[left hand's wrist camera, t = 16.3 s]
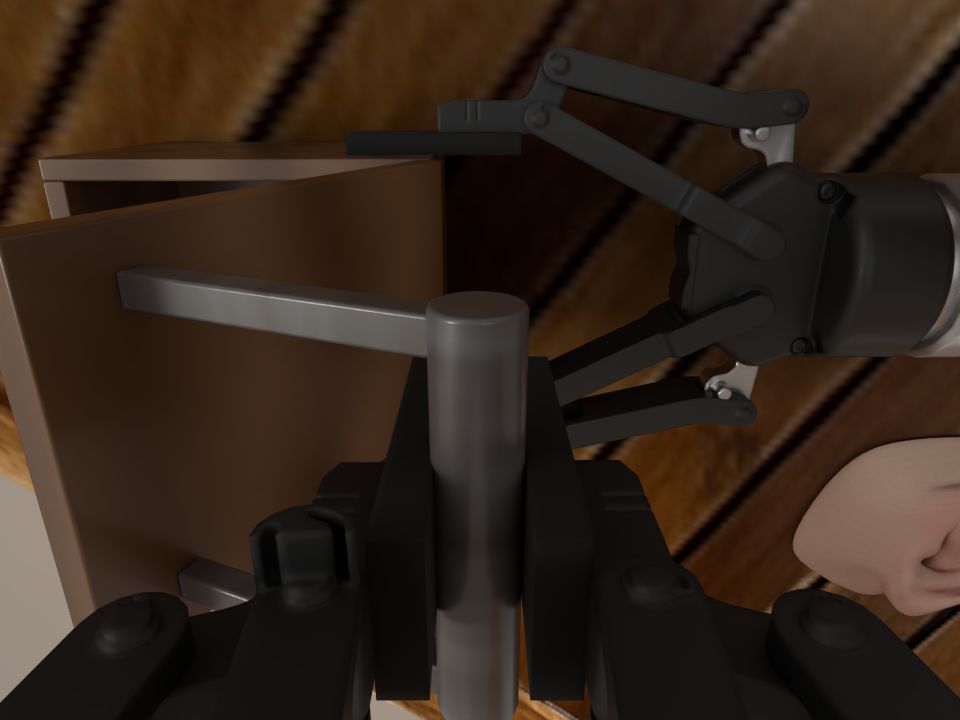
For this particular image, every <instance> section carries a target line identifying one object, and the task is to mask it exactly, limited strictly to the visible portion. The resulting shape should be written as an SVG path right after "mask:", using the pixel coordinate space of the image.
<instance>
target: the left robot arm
mask: <svg viewBox="0 0 960 720" xmlns="http://www.w3.org/2000/svg"><path fill="white" fill-rule="evenodd" d="M248 538H249V545H250V551H251V558H252V564H253V571H254V578H255V584H256V592H255V595H254V598H252V599H250V600H248V601H246V602H244V603H241V604H238V605H235V606H232V607H228V608H225V609H221V610H216V611H212V612H207V613H203V614H199V615H194V616H190V617H189V612H188V607H187V606H186V604H185V603H184V602H183V601H182V600H181V599H180V598H179V597H178V596H174V595H171V594H168V593H165V592H141V593H137V594H133V595H130V596H126V597H122V598H119V599H117V600H115V601H113V602H111V603H108V604H106V605H104V606H102V607H100V608H98V609H97V610H95V611H94V612H93V613H92V614H90V615H89V616H88V617H87V618H85V619H84V620H83V621H81V622H80V623H79V624H78V625H77V626H76V627H75V628H74V629H73V630H72V631H71V632H70V633H69V634H68V635H67V636H66V637H65V638H64V639H63V640H62V641H61V642H60V643H59V644H58V645H57V646H56V647H55V648H54V649H53V650H52V651H51V652H50V653H49V654H48V655H47V656H46V657H45V658H44V659H43V660H42V661H41V662H40V663H39V664H38V665H37V666H36V667H35V668H34V669H33V670H32V671H31V672H30V673H29V674H28V675H27V676H26V677H25V678H24V679H23V680H22V681H21V682H20V683H19V684H18V685H17V686H16V687H15V688H14V689H13V690H12V691H11V692H10V693H9V694H8V695H7V696H6V697H5V698H4V699H3V700H2V701H1V702H0V720H371V715H370V701H371V696H372V690H373V685H374V679H375V689H376V700H430V689H431V677H432V665H433V654H434V642H435V630H436V618H437V580H436V546H435V512H434V479H433V466H432V464H431V461H430V438H429V406H428V374H427V358H422V357H413V358H412V362H411V365H410V369H409V373H408V377H407V381H406V384H405V388H404V392H403V396H402V400H401V403H400V407H399V411H398V415H397V419H396V422H395V426H394V430H393V434H392V438H391V441H390V445H389V449H388V453H387V457H386V460H385V462H340V463H339V464H338V465H337V466H336V467H335V468H333V469H332V470H331V471H330V472H329V473H327V474H326V475H325V476H324V477H323V479H322V481H321V483H320V486H319V488H318V491H317V493H316V498H314V500H313V502H312V504H309V505H302V506H295V507H290V508H287V509H284V510H282V511H279V512H276V513H274V514H271V515H270V516H269V517H267V518H266V519H264V520H263V521H261V522H260V523H258V524H257V525H256V526H255V528H254V529H253V531H252V532H251V533H250V535H249V536H248ZM521 594H522V606H523V618H524V630H525V642H526V653H527V665H528V677H529V689H530V700H584V689H585V676H586V682H587V687H588V693H589V698H590V715H589V720H960V698H959V697H958V696H957V695H956V694H955V693H954V692H953V691H952V690H951V689H950V688H949V687H948V686H947V685H946V684H945V683H944V682H943V681H942V680H941V679H940V678H939V677H938V676H937V675H936V674H935V673H934V672H933V671H932V670H931V669H930V668H929V667H928V666H927V665H926V664H925V663H924V662H923V661H922V660H921V659H920V658H919V657H918V656H917V655H916V654H915V653H914V652H913V651H912V650H911V649H910V648H909V647H908V646H907V645H906V644H905V643H904V642H903V641H902V640H901V639H900V638H899V637H898V636H897V635H896V634H895V633H894V632H893V631H892V630H891V629H890V628H889V627H888V626H887V625H886V624H885V623H884V622H883V621H882V620H881V619H879V618H878V617H877V616H875V615H874V614H873V613H871V612H870V611H869V610H868V609H866V608H865V607H864V606H862V605H860V604H858V603H856V602H854V601H852V600H850V599H848V598H846V597H844V596H841V595H838V594H834V593H830V592H826V591H822V590H818V589H797V590H793V591H790V592H787V593H784V594H782V595H781V596H780V597H779V598H778V599H777V600H776V601H775V602H774V603H773V607H772V612H771V614H769V613H764V612H760V611H756V610H751V609H747V608H742V607H738V606H734V605H731V604H727V603H724V602H721V601H718V600H716V599H714V598H711V597H709V596H707V595H706V594H705V591H704V589H703V587H702V586H701V584H700V583H699V581H698V579H697V578H696V576H695V575H693V574H692V573H691V572H689V571H688V570H687V569H686V568H684V567H683V566H682V565H680V564H677V563H675V562H673V559H672V557H671V554H670V552H669V550H668V547H667V545H666V543H665V540H664V538H663V535H662V533H661V531H660V528H659V526H658V523H657V521H656V519H655V516H654V514H653V512H652V511H651V507H650V504H649V502H648V500H647V497H646V496H645V493H644V490H643V488H642V485H641V483H640V481H639V478H638V476H637V475H636V474H635V473H634V472H633V471H632V470H630V469H629V468H628V467H627V466H626V465H625V464H623V463H622V462H621V461H620V460H574V456H573V453H572V449H571V445H570V441H569V438H568V434H567V430H566V426H565V422H564V419H563V415H562V411H561V407H560V403H559V400H558V396H557V392H556V388H555V384H554V381H553V377H552V373H551V369H550V365H549V362H548V358H547V357H528V375H527V410H526V445H525V480H524V516H523V551H522V586H521Z"/></svg>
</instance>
